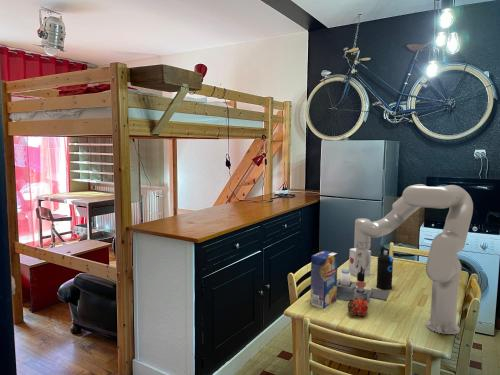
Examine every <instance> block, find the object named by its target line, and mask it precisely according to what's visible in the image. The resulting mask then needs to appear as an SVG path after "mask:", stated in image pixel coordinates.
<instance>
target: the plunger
mask: <svg viewBox="0 0 500 375" xmlns="http://www.w3.org/2000/svg"><path fill="white" fill-rule="evenodd" d="M355 282H356V288H357V292H360V293H363V292H364V289H365V288H366V285H367V283H366V282H365V281H364V282H361V281H357V280H356V281H355Z"/></svg>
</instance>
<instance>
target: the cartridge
mask: <svg viewBox="0 0 500 375" xmlns="http://www.w3.org/2000/svg"><path fill="white" fill-rule="evenodd" d="M339 273H340V275H339V276H340V277H339V278H340V285H343V286H348V287H350V281H351V274H350V271H349V269H346V268H345V269H344V268H343V269H341V271H340V272H339Z"/></svg>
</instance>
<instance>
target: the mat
mask: <svg viewBox="0 0 500 375" xmlns="http://www.w3.org/2000/svg"><path fill="white" fill-rule="evenodd" d="M370 290H373V293H372V295H371V298H370V299H373V300H379V301H380V300H381V301H384V302H386V301H388V298H389V294H390V292H391V290H381V289H379V288H371V289H370Z"/></svg>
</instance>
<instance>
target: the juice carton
mask: <svg viewBox="0 0 500 375" xmlns="http://www.w3.org/2000/svg"><path fill="white" fill-rule="evenodd" d="M338 257H339V256H338V253H337V252H332V251H327V250H322V251H319V252H317V253H315V254H312V255H311V257H310V258H311V262H310V264H311V265H310V267H311V268H310V270H311V271H310V305H311V306H314V307H318V308H320V309H323V310H324V309H327V307H330V306H331V305H332V304H334V303H336V302H337V299H336V294H337V280H338V260H339V259H338Z"/></svg>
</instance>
